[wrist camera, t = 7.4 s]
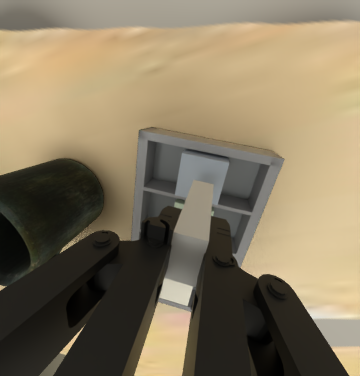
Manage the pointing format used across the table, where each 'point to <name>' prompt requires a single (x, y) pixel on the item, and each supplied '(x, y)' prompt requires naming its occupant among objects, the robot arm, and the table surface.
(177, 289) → the key ivory
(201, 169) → the key slate
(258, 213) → the grey compartment rack
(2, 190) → the mug
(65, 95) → the table surface
